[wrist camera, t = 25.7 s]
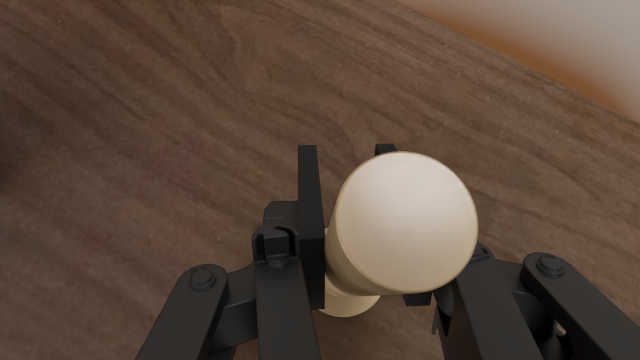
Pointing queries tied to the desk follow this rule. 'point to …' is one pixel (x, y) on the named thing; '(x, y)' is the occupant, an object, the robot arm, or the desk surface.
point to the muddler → (396, 231)
